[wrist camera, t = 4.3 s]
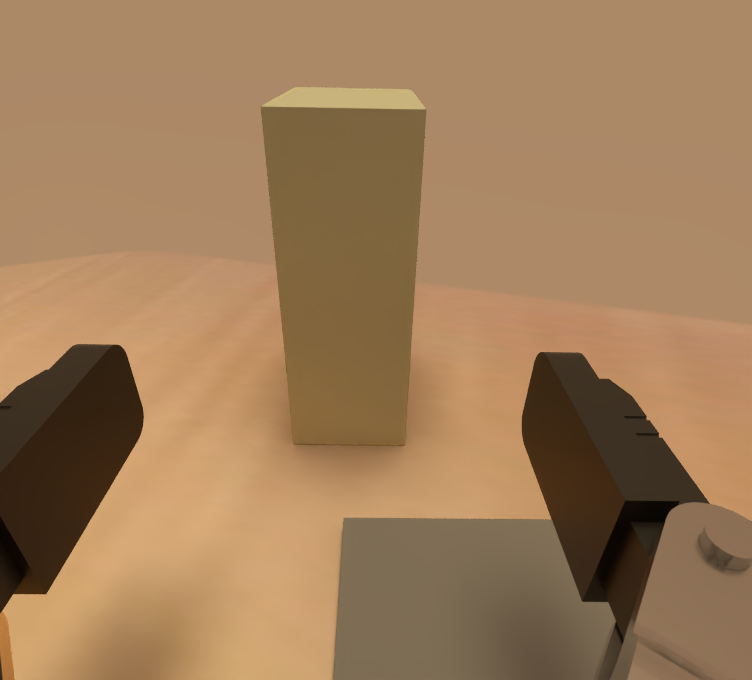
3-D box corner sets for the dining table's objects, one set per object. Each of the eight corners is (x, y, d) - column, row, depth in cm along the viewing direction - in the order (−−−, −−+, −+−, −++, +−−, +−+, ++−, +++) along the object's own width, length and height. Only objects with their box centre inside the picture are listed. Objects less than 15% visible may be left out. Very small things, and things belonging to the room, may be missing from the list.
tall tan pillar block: (293, 443, 17) (260, 106, 12) (311, 353, 23) (295, 87, 17) (404, 445, 17) (426, 109, 12) (397, 354, 23) (410, 89, 17)
